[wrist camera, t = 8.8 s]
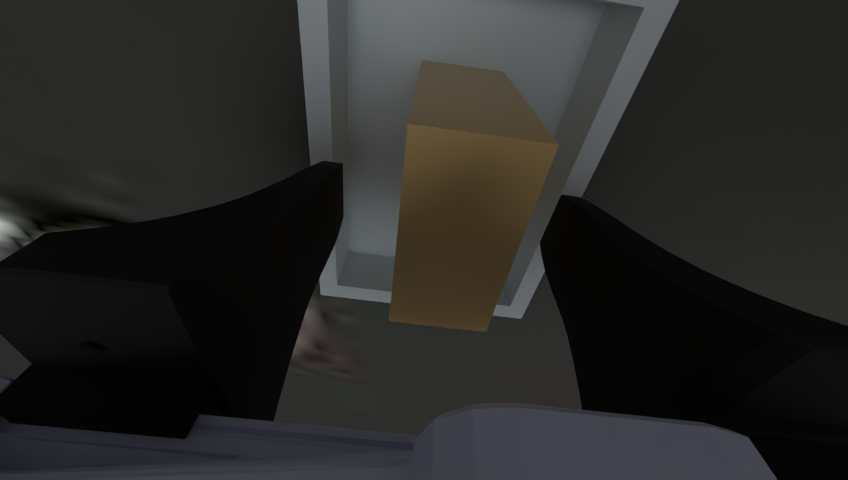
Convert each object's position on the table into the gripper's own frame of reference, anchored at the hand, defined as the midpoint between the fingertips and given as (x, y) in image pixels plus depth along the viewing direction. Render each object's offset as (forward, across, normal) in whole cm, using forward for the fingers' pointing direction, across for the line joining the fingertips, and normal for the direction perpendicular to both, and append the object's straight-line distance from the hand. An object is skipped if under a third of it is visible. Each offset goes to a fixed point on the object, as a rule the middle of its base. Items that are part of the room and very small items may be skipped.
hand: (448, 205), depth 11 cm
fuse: (+4, 0, -1) cm, 4 cm away
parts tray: (+4, 0, 0) cm, 4 cm away
